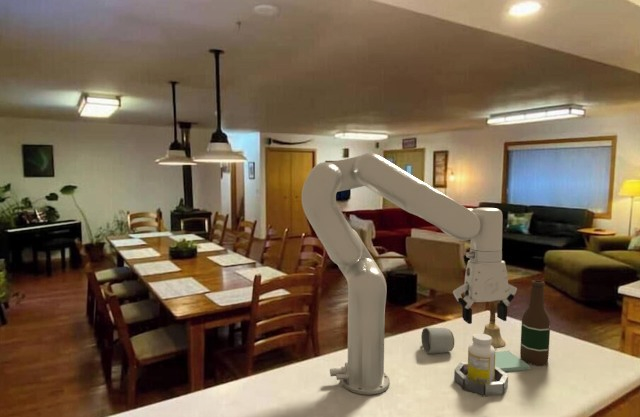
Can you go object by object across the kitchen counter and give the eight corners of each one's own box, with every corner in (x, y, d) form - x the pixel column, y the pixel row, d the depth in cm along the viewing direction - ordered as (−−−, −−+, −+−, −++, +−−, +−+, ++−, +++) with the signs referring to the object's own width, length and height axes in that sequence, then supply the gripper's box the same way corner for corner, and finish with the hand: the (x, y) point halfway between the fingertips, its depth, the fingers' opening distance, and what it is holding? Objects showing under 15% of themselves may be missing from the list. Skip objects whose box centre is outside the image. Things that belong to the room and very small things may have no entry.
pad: (497, 372, 115) (497, 368, 115) (478, 356, 125) (478, 353, 125) (529, 369, 116) (530, 366, 116) (508, 354, 126) (508, 350, 126)
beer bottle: (552, 367, 118) (557, 285, 115) (523, 365, 119) (527, 283, 117) (543, 355, 125) (547, 278, 123) (516, 353, 127) (520, 277, 125)
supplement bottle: (479, 375, 113) (481, 329, 112) (499, 386, 107) (501, 338, 106) (461, 380, 110) (463, 334, 109) (481, 392, 104) (483, 343, 103)
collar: (470, 398, 102) (471, 386, 101) (447, 373, 114) (448, 363, 114) (516, 393, 104) (517, 382, 103) (489, 370, 116) (489, 360, 115)
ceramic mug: (455, 355, 125) (456, 331, 125) (430, 357, 124) (431, 332, 123) (439, 342, 136) (440, 319, 135) (416, 343, 134) (416, 320, 134)
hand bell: (475, 336, 140) (477, 290, 138) (501, 337, 139) (503, 291, 137) (481, 346, 132) (483, 298, 130) (509, 348, 130) (511, 299, 129)
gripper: (461, 260, 101) (460, 328, 102) (525, 257, 103) (524, 323, 105) (447, 254, 108) (446, 318, 110) (507, 251, 111) (506, 313, 112)
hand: (484, 320), depth 107 cm, fingers open, 9 cm apart
